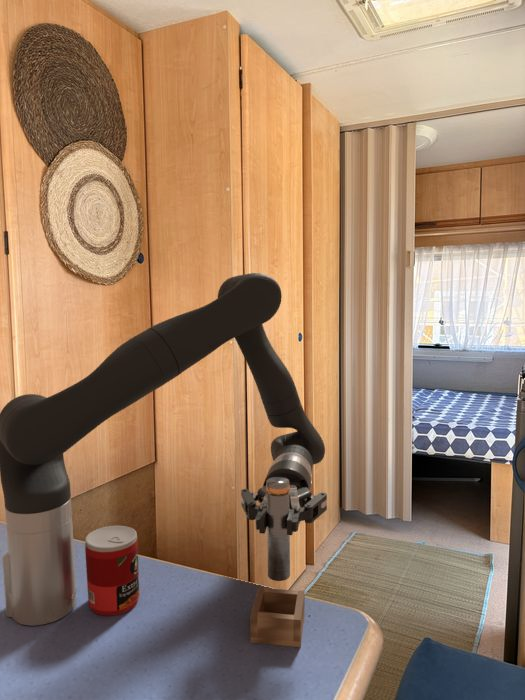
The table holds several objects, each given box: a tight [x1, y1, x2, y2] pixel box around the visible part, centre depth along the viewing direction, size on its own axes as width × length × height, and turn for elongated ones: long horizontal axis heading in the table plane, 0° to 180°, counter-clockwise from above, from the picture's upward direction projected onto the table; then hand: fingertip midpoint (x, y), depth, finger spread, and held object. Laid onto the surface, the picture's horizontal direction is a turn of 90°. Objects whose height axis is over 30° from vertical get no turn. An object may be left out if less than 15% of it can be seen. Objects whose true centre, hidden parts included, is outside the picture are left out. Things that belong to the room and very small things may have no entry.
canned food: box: [84, 525, 140, 617], centre depth 84 cm, size 8×8×11 cm
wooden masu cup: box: [249, 587, 306, 648], centre depth 77 cm, size 7×7×4 cm
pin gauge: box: [266, 477, 291, 582], centre depth 75 cm, size 3×3×14 cm
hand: (275, 527), depth 72 cm, fingers closed on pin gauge, 3 cm apart
